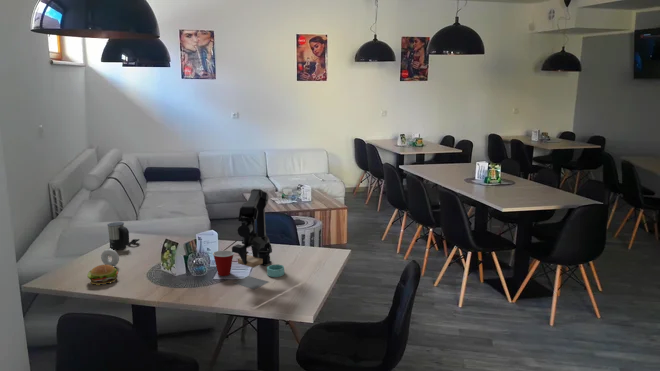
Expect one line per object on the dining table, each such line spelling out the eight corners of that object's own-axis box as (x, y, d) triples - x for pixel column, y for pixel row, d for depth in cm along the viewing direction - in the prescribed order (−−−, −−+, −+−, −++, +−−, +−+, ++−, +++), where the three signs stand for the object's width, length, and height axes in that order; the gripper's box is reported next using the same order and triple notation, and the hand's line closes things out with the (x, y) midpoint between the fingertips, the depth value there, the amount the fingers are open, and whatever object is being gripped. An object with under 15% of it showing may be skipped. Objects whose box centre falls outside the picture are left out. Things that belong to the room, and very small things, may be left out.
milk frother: (106, 249, 291) (103, 225, 288) (121, 241, 306) (119, 218, 303) (128, 251, 288) (126, 226, 285) (142, 242, 303) (141, 219, 300)
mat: (232, 284, 239) (232, 282, 239) (248, 277, 248) (248, 275, 248) (254, 290, 232) (254, 289, 232) (269, 283, 241) (269, 281, 240)
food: (93, 276, 249) (91, 261, 248) (122, 275, 251) (120, 260, 249) (82, 287, 236) (80, 271, 234) (112, 286, 237) (111, 270, 236)
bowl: (264, 276, 249) (263, 268, 249) (274, 271, 256) (274, 263, 255) (276, 279, 245) (276, 271, 244) (287, 274, 252) (287, 266, 251)
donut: (100, 267, 262) (98, 249, 260) (104, 265, 266) (103, 247, 264) (117, 268, 260) (115, 250, 258) (121, 266, 263) (119, 248, 262)
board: (238, 263, 238) (237, 258, 237) (247, 259, 243) (247, 255, 243) (253, 267, 232) (253, 262, 232) (262, 263, 238) (262, 258, 237)
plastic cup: (239, 273, 254) (238, 250, 251) (226, 280, 244) (225, 257, 242) (222, 269, 258) (221, 247, 256) (209, 276, 249) (208, 254, 246)
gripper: (248, 238, 223) (249, 271, 226) (275, 229, 238) (275, 259, 241) (230, 234, 229) (231, 266, 232) (257, 225, 244) (258, 255, 247)
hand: (250, 262), depth 238 cm, fingers closed on board, 6 cm apart
